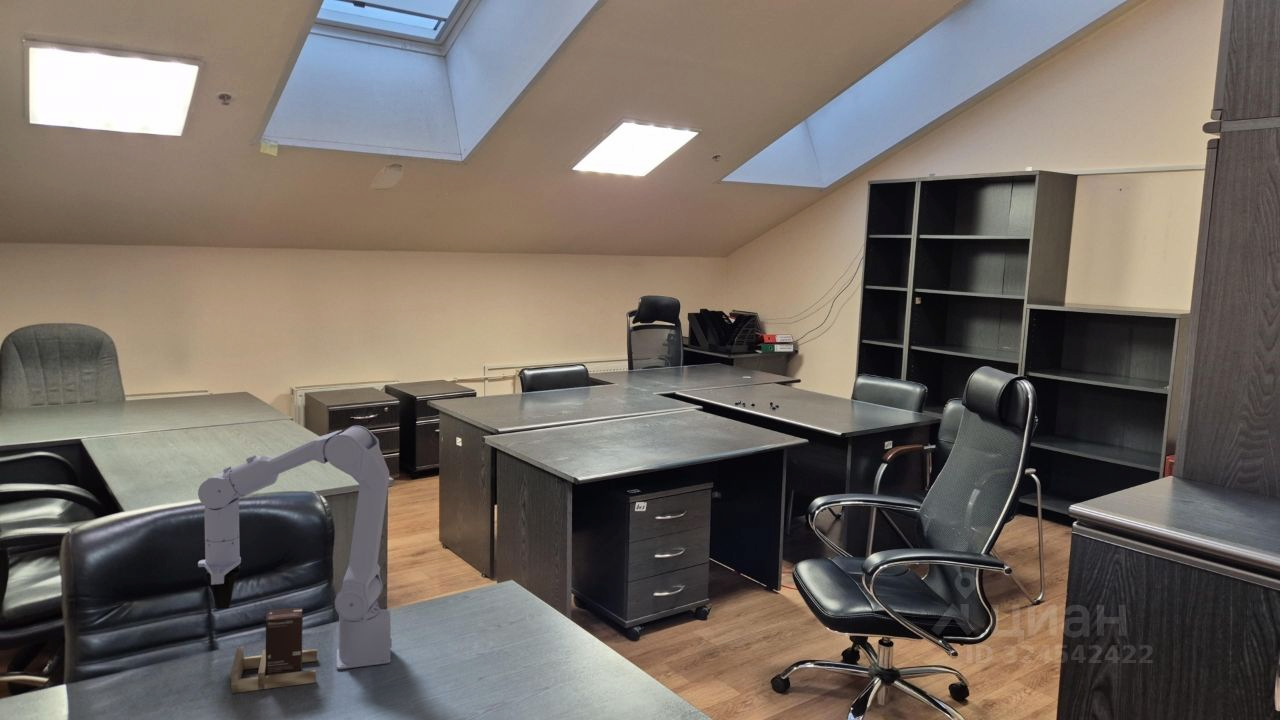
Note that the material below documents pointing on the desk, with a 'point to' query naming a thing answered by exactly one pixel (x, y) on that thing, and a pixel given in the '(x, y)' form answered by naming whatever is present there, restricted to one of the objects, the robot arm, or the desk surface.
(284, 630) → the box
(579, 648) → the desk surface
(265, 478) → the robot arm
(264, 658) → the wooden slat rack
